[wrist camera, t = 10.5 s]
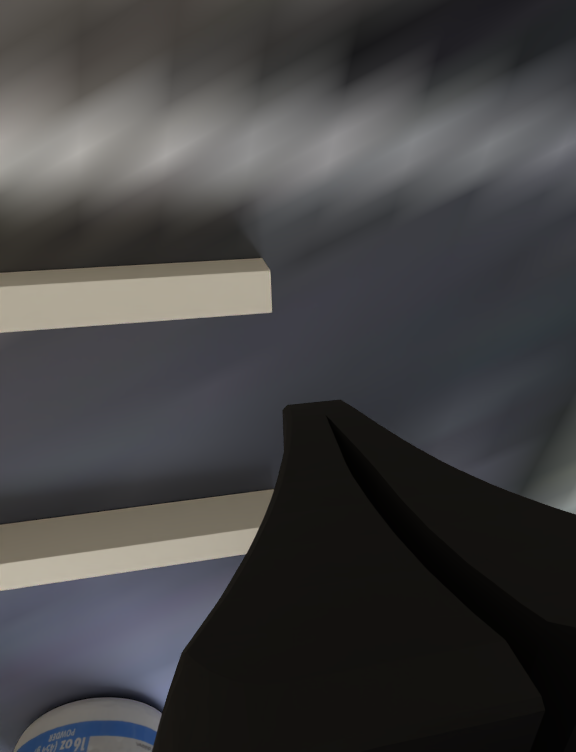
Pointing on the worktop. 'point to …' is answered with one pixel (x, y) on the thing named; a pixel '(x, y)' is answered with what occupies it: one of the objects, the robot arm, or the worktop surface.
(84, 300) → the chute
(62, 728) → the supplement tub
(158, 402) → the worktop surface
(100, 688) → the worktop surface
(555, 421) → the worktop surface
